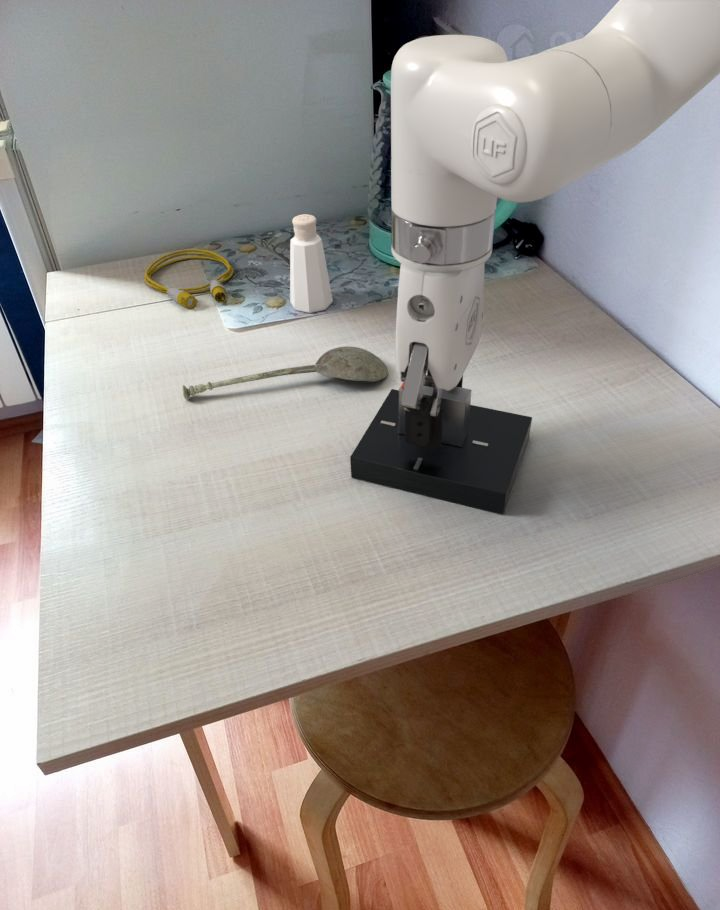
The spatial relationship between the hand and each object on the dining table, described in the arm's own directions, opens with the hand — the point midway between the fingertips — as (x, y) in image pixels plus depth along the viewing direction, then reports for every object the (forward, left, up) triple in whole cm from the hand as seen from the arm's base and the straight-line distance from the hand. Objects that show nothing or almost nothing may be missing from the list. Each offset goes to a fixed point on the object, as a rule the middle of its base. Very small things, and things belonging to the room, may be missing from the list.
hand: (433, 422), depth 64 cm
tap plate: (-1, 0, -4) cm, 4 cm away
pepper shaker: (+23, -23, -4) cm, 33 cm away
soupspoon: (+18, -6, -4) cm, 19 cm away
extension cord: (+41, -23, -4) cm, 47 cm away
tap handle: (0, 0, -1) cm, 1 cm away
